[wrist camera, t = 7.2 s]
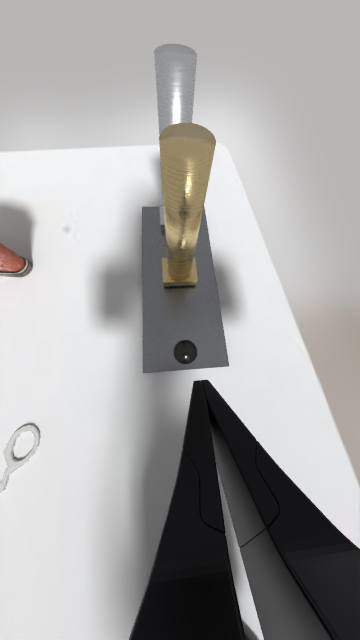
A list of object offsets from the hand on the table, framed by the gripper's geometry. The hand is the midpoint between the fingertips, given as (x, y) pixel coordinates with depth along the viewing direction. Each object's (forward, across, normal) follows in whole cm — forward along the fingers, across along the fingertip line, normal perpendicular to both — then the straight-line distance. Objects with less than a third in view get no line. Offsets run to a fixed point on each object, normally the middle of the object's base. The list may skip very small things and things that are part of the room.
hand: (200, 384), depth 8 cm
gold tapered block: (+15, 0, -4) cm, 15 cm away
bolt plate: (+16, 0, -2) cm, 16 cm away
